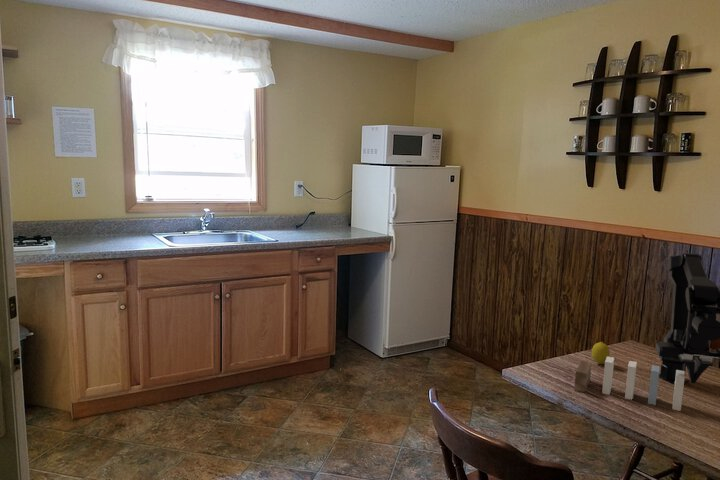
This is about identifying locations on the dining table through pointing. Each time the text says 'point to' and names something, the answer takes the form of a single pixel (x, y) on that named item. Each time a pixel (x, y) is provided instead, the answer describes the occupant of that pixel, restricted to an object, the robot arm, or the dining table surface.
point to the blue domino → (653, 385)
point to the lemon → (600, 352)
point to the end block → (582, 376)
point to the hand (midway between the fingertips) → (692, 382)
